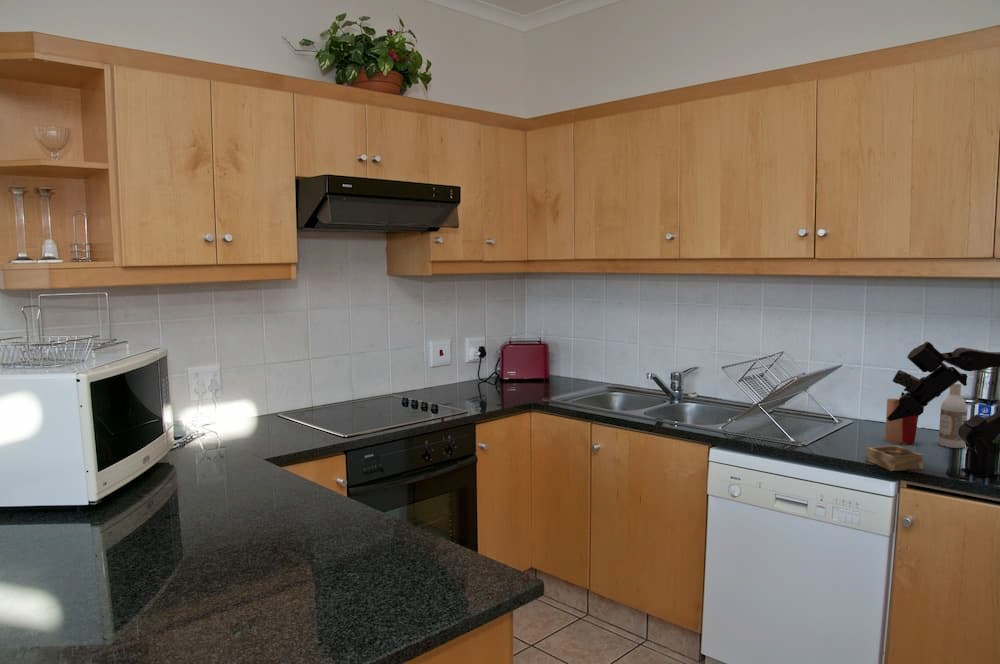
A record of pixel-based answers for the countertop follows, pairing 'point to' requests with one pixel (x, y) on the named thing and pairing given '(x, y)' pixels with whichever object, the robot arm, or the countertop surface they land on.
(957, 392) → the bath foam
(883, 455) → the box
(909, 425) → the paper cup
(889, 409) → the peg
